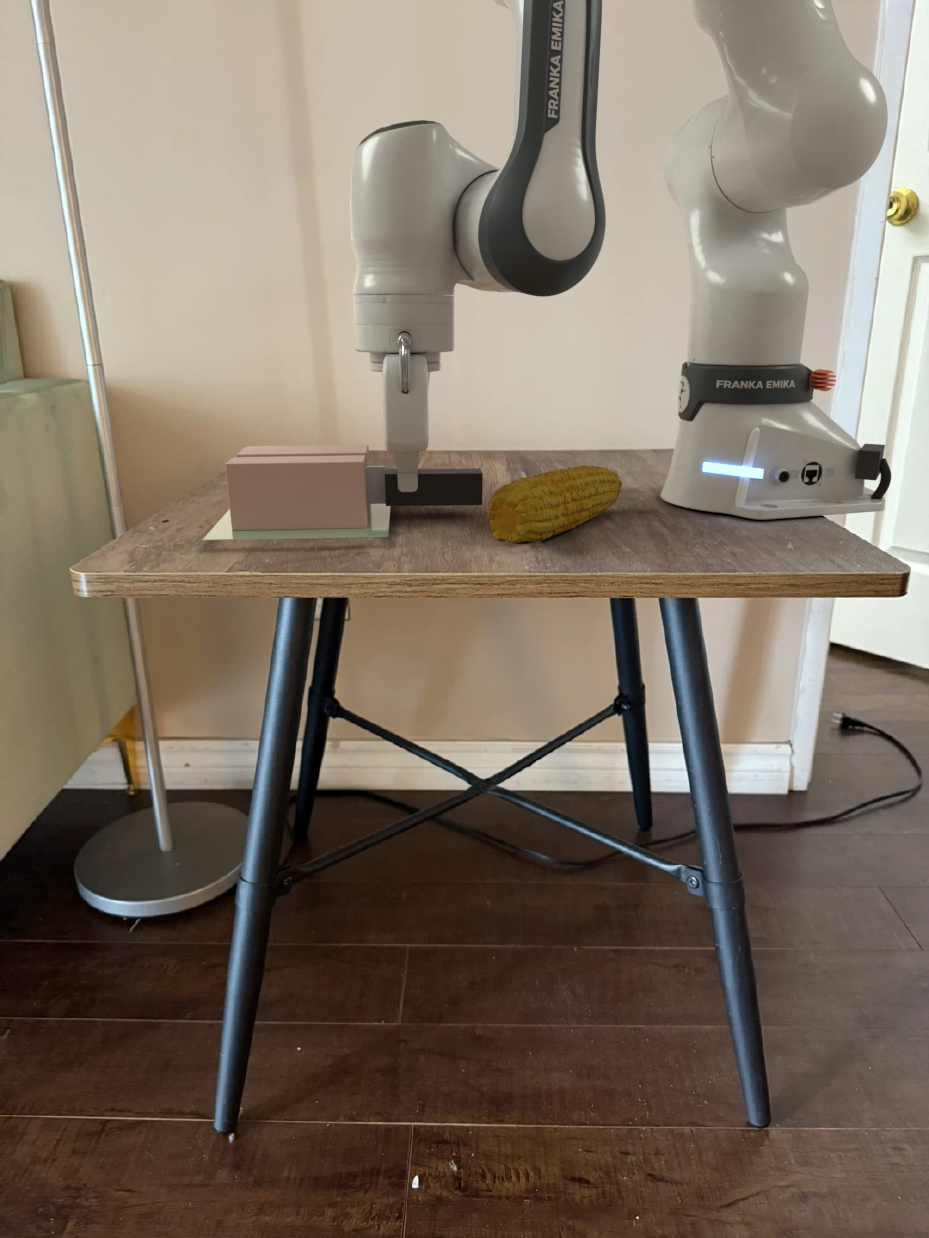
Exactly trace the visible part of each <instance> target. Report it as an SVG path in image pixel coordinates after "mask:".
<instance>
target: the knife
mask: <svg viewBox="0 0 929 1238" xmlns="http://www.w3.org/2000/svg"><path fill="white" fill-rule="evenodd" d="M483 476H484V474H483V471H482V469H481V468H479V467H478V468H476V467H475V468H418V488H417V490H416V491H414V492H401V491H400V490H399V489H398V472H397V468H386V465H369V466H366V479H367V502H368V504H386V506H391V507H436V506H438V507H439V506H441V507H442V506H445V507H447V506H483V482H484V481H483V479H484V478H483Z"/></svg>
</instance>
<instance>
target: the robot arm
mask: <svg viewBox="0 0 929 1238" xmlns="http://www.w3.org/2000/svg"><path fill="white" fill-rule="evenodd" d="M492 2H494V3H495V4H496V5H498V6H500V7H502V8H505V9H508V10H509V11H510V13H511V15H512V18H513V20H514V21H513V22H514V24H515V32H516V55H515V56H516V57H515V58H516V59H515V60H516V61H515V79H514V80H515V81H514V103H513V128H512V130H513V131H512V138H511V143H510V147H509V150H508V152H507V154H506V157H505V159H504V161H503V162H502V164H501V166H500V168H499V167H497V166H495V165H493V164H491V163H488V162H487V161H485V160H483V159H482V158H480V157H478V156H477V155H475V154H474V153H473V152H470V151H469V150H468V149H467V148H466V147H464V146H463V145H462V144H461V143H460V142H459V141H457V140H456V139H455V138H453V136H452V135H451V134H450V133H449V132H448V130H447V129H446V128H445V126H444V125H443V124H442V123H440V122H436V121H434V120H425V119H420V120H419V119H418V120H408V121H403V122H402V121H401V122H396V123H392V124H389V125H387V126H382V127H380V128H377V129H375V130H374V131H372V132H371V133H369V134H368V135H366V136H365V137H364V138H363V139H362V140H361V141H360V142H359V144H358V145H357V146H356V149H355V151H354V153H353V157H352V162H351V163H352V164H351V173H350V191H349V224H350V226H349V227H350V228H349V229H350V241H351V243H350V244H351V247H352V250H353V252H354V256H355V257H354V258H355V262H356V263H355V264H356V273H355V281H354V284H353V287H352V303H353V325H354V326H353V328H354V330H353V331H354V349H355V351H356V352H360V353H369V361H370V362H369V369H370V371H371V372H377V373H381V376H382V378H381V379H382V416H383V417H382V419H383V421H382V423H383V442H384V446H385V450H386V451H388V452H390V453H394V454H395V456H394V458H395V464H396V469H397V472H398V489H399V490H400V491H401V492H414V491H416V490H417V488H418V469H419V462H420V461H419V460H420V453H421V452H425V451H427V450H428V447H429V442H430V425H429V423H430V422H429V420H430V419H429V417H430V416H429V386H430V377H431V376H430V375H431V373H432V372H433V373H434V372H439V371H441V369H442V367H441V353H449V352H454V351H455V288H456V286H457V285H463V286H467V287H469V288H472V289H475V290H478V291H482V292H490V293H491V292H492V293H494V292H497V293H519V294H523V295H528V296H533V297H540V298H542V297H543V298H544V297H553V296H558V295H561V294H563V293H565V292H567V291H569V290H571V289H572V288H574V287H576V285H578V284H580V283H581V281H582V280H583V279H585V277H587V275H588V274H589V272H590V271H591V270H592V268H593V267H594V265H595V263H596V262H597V260H598V257H599V255H600V253H601V250H602V247H603V245H604V240H605V235H606V234H605V233H606V224H607V222H606V221H607V220H606V219H607V217H606V216H607V215H606V206H605V205H606V204H605V199H604V192H603V188H602V183H601V178H600V173H599V167H598V160H597V145H596V144H597V140H596V139H597V138H596V136H597V116H598V101H599V100H598V96H599V79H600V78H599V77H600V60H601V41H602V19H603V0H492ZM691 6H692V13H693V17H694V20H695V23H696V24H697V26H698V28H700V30H701V31H702V32H704V33H705V34H706V35H708V36H709V37H710V39H711V40H712V42H713V44H714V46H715V48H716V51H717V53H718V56H719V59H720V61H721V65H722V67H723V70H724V74H725V78H726V82H727V88H728V94H727V95H723V96H722V97H721V96H720V97H719V98H716V99H714V100H712V101H709V102H708V103H706V104H705V105H702V107H700V109H698V110H697V111H696V112H695V113H694V114H693V115H692V116H691V117H689V118H688V119H687V120H686V121H685V122H684V123H683V124H682V125H681V127H679V128H678V130H676V132H675V133H674V135H673V136H672V138H671V140H670V142H669V144H668V146H667V150H666V153H665V157H664V165H663V173H664V180H665V185H666V188H667V190H668V193H669V195H670V197H671V199H672V200H673V201H674V203H675V204H676V206H677V207H678V210H680V215H681V218H682V223H683V227H684V235H685V240H686V246H687V252H688V259H689V260H688V261H689V267H690V305H689V320H688V321H689V323H688V338H687V350H686V351H687V353H686V361H684V362H683V363H682V364H681V372H680V373H681V374H680V376H679V380H678V381H679V382H678V390H677V391H678V393H677V416H678V417H679V423H678V428H677V433H676V439H675V445H674V449H673V454H672V458H671V463H670V466H669V469H668V472H667V476H666V478H665V482H664V484H663V487H662V489H661V491H660V494H659V497H660V498H661V499H662V500H663V501H665V502H667V503H670V504H672V505H675V506H678V507H682V508H686V509H690V510H691V509H692V510H697V511H703V512H709V513H719V514H727V515H731V516H732V515H733V516H736V517H740V518H746V519H752V520H760V521H761V520H763V521H765V520H777V519H790V518H805V517H817V516H818V517H819V516H831V515H832V516H833V515H846V514H847V515H848V514H861V513H873V512H874V513H875V512H883V511H885V508H886V499H885V497H884V496H885V494H886V493H887V492H888V490H889V487H890V486H891V482H892V471H891V467H890V465H889V463H888V461H887V458H885V457H884V455H885V454H884V453H885V449H886V448H885V447H886V444H880V443H864V444H863V445H862V446H861V445H860V444H859V442H858V440H856V439H855V438H854V437H853V436H851V434H849V433H848V431H846V430H845V429H844V428H842V427H841V426H840V425H839V424H838V423H836V422H835V420H833V418H831V417H830V416H829V414H827V413H826V412H825V411H823V410H822V409H821V408H820V407H819V406H817V404H816V403H814V401H812V400H813V399H814V391H815V390H817V391H818V390H819V391H821V392H828V391H830V390H832V389H833V387H834V386H835V385H836V382H837V379H834V378H837V376H836V375H835V372H834V371H832V370H830V369H822V368H819V369H815V370H814V371H813V370H812V369H811V368H810V367H808V366H806V365H804V364H803V363H801V357H802V350H803V342H804V341H803V340H804V334H805V333H804V332H805V324H806V317H807V316H806V315H807V308H808V300H809V299H808V298H809V292H810V284H809V279H808V275H807V273H806V271H805V270H804V269H803V267H802V266H801V265H800V264H799V263H798V261H797V260H796V258H795V256H794V253H793V251H792V247H791V243H790V237H789V232H788V222H787V211H788V210H787V209H789V208H796V207H802V206H806V205H812V204H814V203H818V202H820V201H822V200H824V199H826V198H828V197H830V196H832V195H834V194H837V192H840V191H842V190H843V189H845V188H846V187H848V186H851V185H852V184H854V183H855V182H857V181H858V180H860V179H861V178H862V177H863V176H864V175H866V173H868V171H869V170H870V169H871V168H872V166H873V165H874V163H875V162H876V161H877V159H878V157H879V155H880V152H881V151H882V148H883V145H884V143H885V139H886V134H887V130H888V122H889V121H888V118H889V117H888V115H889V113H888V112H889V111H888V104H887V98H886V95H885V92H884V89H883V86H882V85H881V83H880V81H879V80H878V78H877V77H876V75H875V74H874V73H873V72H872V71H871V70H870V69H869V68H867V67H866V66H865V65H863V64H862V63H861V62H860V61H858V60H857V59H856V58H855V56H854V55H853V53H851V51H850V49H849V47H848V46H847V44H846V41H845V39H844V36H843V35H842V32H841V29H840V27H839V24H838V21H837V20H838V19H837V18H836V14H835V11H834V8H833V4H832V0H691ZM833 382H834V383H833ZM879 476H880V480H879V484H878V485H877V487H876V489H875V490H874V489H870V488H868V487H865V483H866V481H877V480H878V478H879Z"/></svg>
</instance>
